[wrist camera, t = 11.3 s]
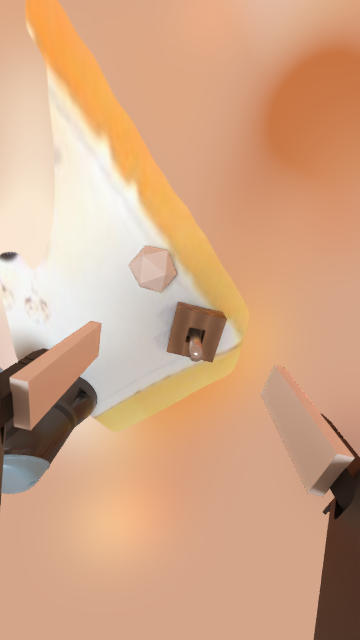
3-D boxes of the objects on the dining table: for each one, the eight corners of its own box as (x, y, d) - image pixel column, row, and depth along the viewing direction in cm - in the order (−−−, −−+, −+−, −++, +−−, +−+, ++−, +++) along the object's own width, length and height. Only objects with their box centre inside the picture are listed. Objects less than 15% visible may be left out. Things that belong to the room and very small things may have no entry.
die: (141, 241, 42) (112, 265, 37) (175, 235, 37) (147, 261, 32) (157, 274, 48) (133, 300, 42) (188, 273, 43) (166, 301, 37)
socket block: (168, 342, 49) (166, 351, 45) (178, 301, 46) (176, 307, 41) (210, 351, 50) (212, 362, 45) (223, 312, 46) (226, 319, 41)
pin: (188, 333, 47) (187, 359, 35) (191, 324, 46) (191, 348, 35) (198, 335, 47) (200, 362, 35) (200, 326, 46) (204, 351, 35)
